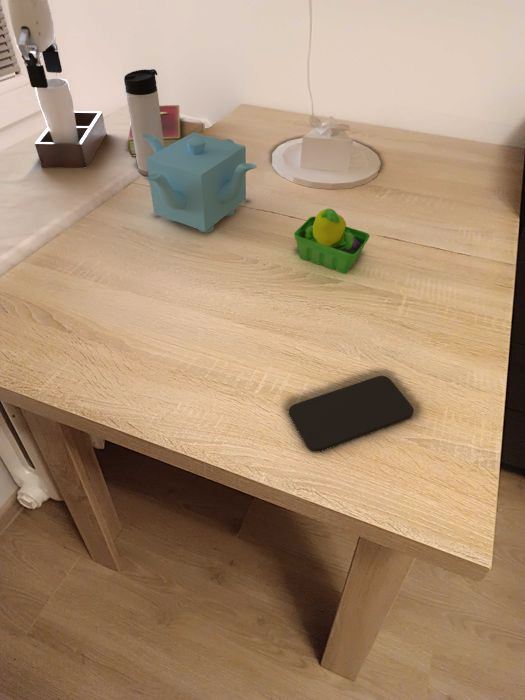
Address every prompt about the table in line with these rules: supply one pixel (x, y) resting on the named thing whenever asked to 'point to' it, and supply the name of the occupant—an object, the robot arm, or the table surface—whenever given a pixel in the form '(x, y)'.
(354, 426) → the phone
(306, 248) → the fruit basket
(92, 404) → the table surface
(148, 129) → the travel mug
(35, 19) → the robot arm
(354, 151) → the dish
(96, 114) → the cup holder
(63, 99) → the drinking glass
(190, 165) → the teakettle
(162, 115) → the hardcover book
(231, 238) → the table surface
